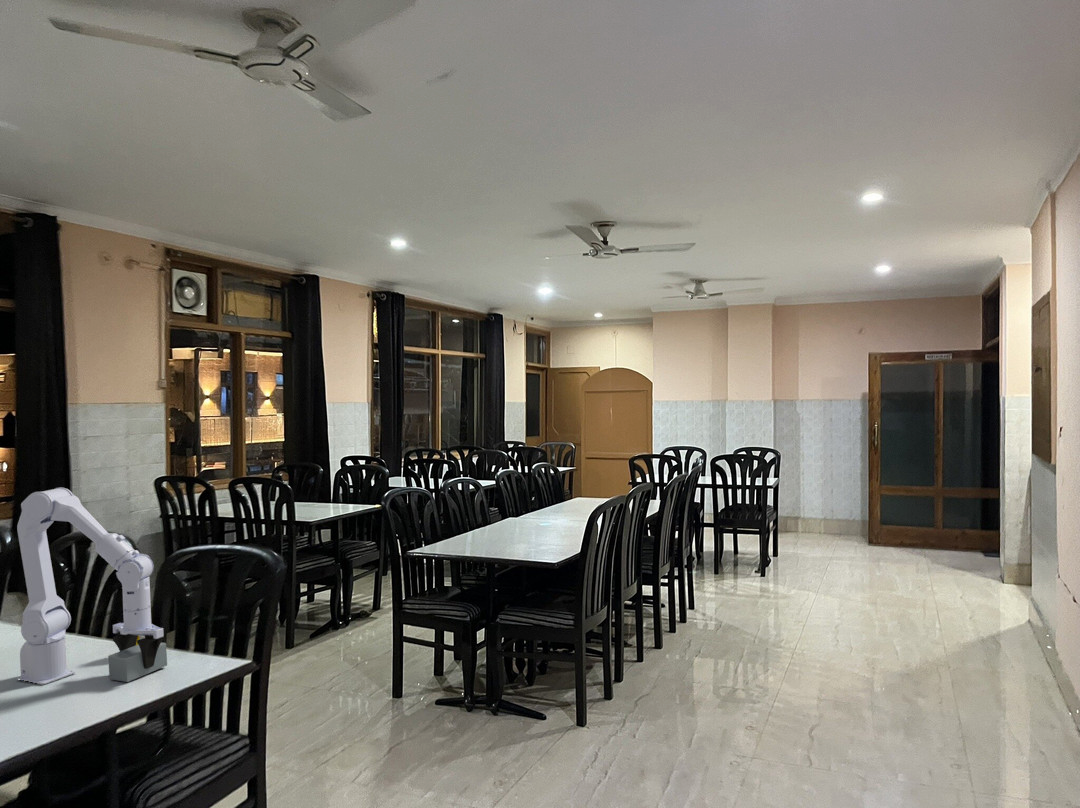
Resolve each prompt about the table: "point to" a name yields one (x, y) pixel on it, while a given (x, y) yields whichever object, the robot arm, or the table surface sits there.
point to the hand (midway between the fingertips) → (139, 665)
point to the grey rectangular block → (134, 663)
